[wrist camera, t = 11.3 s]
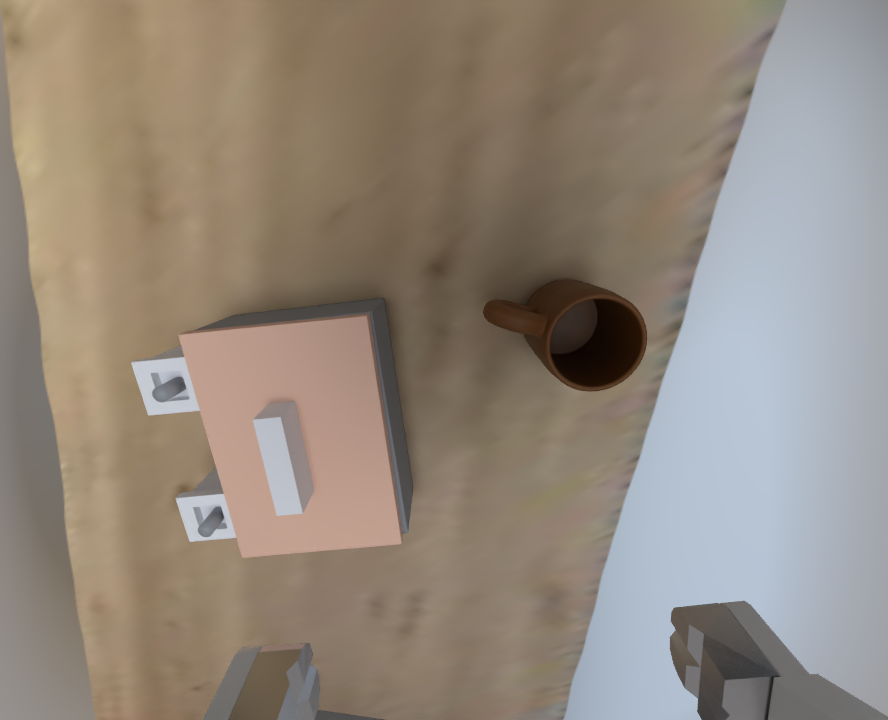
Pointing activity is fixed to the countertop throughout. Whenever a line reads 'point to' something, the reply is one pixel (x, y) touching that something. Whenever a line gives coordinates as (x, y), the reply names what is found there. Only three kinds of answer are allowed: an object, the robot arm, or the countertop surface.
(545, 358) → the mug
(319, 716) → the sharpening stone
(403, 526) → the cabinet
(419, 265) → the countertop surface
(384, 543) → the door
